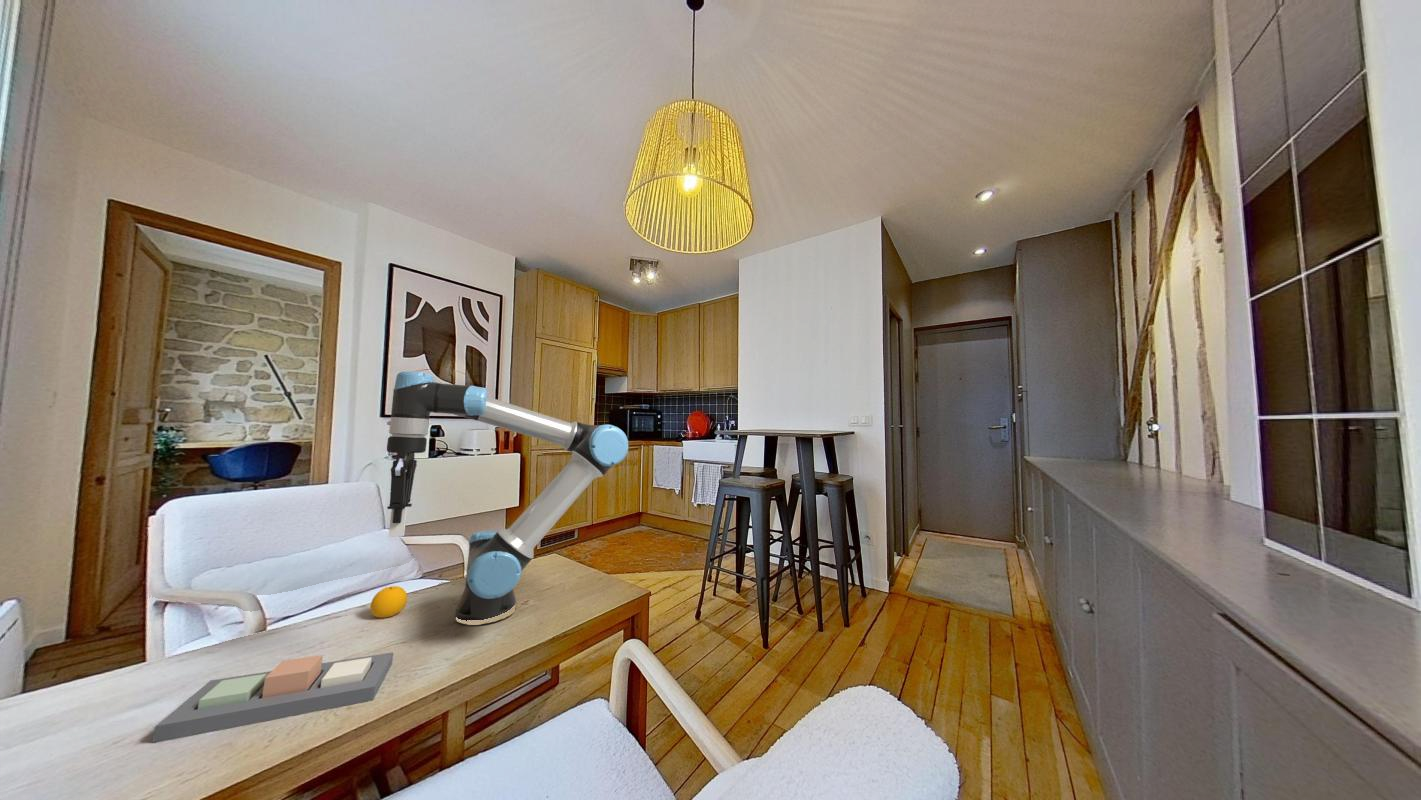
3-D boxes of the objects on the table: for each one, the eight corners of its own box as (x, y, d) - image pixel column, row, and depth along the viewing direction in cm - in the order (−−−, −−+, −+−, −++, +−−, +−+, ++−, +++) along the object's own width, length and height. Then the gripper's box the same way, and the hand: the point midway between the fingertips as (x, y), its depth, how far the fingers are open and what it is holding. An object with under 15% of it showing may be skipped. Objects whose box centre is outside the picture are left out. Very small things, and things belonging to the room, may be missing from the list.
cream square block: (369, 674, 83) (371, 657, 84) (359, 691, 78) (361, 673, 78) (332, 681, 81) (334, 663, 81) (319, 699, 75) (321, 679, 76)
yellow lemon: (409, 607, 115) (412, 580, 116) (401, 619, 108) (404, 590, 109) (374, 610, 112) (378, 583, 113) (364, 623, 105) (367, 593, 106)
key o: (263, 692, 76) (266, 673, 77) (244, 713, 71) (247, 692, 71) (219, 700, 74) (222, 680, 74) (195, 722, 68) (199, 700, 69)
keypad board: (391, 664, 88) (393, 652, 88) (373, 700, 76) (374, 686, 76) (208, 694, 76) (210, 680, 76) (152, 742, 64) (155, 726, 64)
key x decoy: (320, 673, 80) (322, 654, 80) (306, 690, 75) (309, 671, 75) (279, 679, 77) (282, 660, 78) (262, 698, 72) (265, 677, 72)
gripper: (396, 434, 100) (384, 530, 98) (380, 435, 89) (366, 544, 86) (431, 436, 103) (421, 529, 101) (421, 437, 92) (409, 542, 90)
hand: (396, 536), depth 94 cm, fingers closed
